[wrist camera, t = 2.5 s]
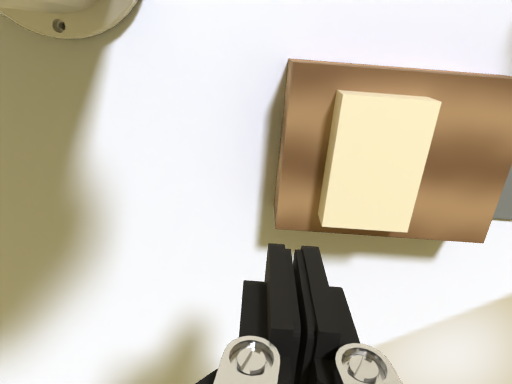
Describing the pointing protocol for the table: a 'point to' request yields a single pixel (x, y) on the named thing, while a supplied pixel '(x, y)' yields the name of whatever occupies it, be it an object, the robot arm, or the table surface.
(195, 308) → the table surface
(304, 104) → the brown wooden slab
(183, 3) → the table surface
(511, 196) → the mat
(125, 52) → the table surface
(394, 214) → the block
